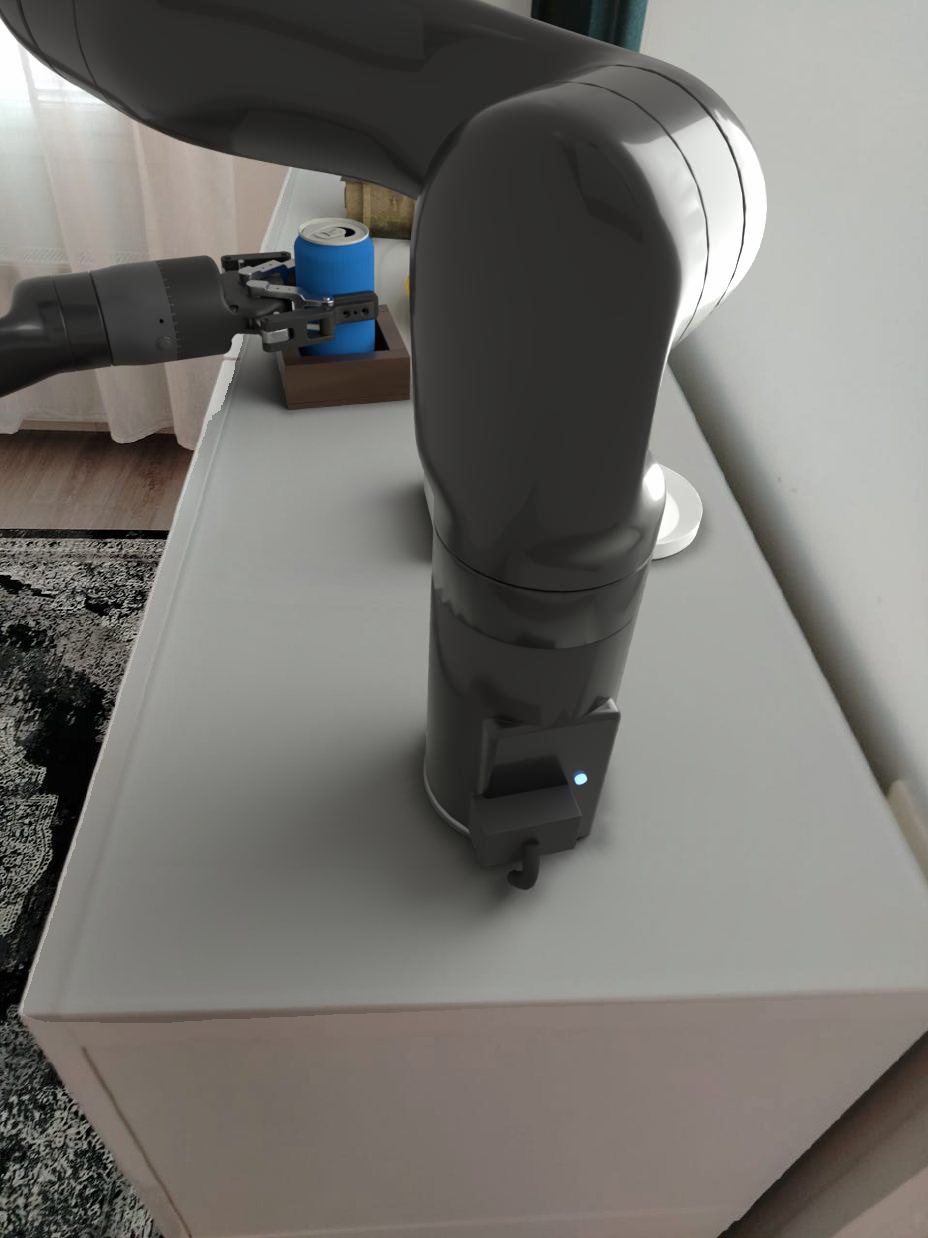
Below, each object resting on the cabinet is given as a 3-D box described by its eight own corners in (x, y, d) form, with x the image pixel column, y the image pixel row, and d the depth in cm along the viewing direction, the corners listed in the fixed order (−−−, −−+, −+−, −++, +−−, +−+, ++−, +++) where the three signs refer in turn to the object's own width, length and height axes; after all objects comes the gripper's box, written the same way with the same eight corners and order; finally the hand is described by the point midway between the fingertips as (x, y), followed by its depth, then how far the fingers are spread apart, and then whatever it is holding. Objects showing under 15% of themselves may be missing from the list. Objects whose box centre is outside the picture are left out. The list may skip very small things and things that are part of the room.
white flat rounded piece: (422, 443, 67) (675, 433, 70) (421, 478, 69) (666, 467, 72) (447, 539, 59) (732, 523, 62) (444, 576, 61) (720, 558, 64)
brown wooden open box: (410, 399, 78) (410, 356, 75) (288, 409, 76) (284, 366, 73) (387, 344, 85) (386, 303, 83) (275, 352, 83) (271, 310, 80)
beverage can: (389, 371, 80) (390, 233, 72) (331, 393, 77) (325, 250, 69) (345, 344, 83) (341, 210, 75) (287, 364, 80) (276, 225, 72)
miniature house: (461, 248, 104) (466, 140, 96) (340, 239, 104) (335, 131, 96) (468, 204, 115) (473, 104, 107) (359, 196, 115) (356, 96, 107)
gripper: (172, 302, 63) (393, 275, 69) (135, 230, 72) (333, 212, 78) (188, 398, 68) (393, 366, 74) (152, 319, 78) (336, 296, 83)
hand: (361, 287), depth 76 cm, fingers closed on beverage can, 6 cm apart
